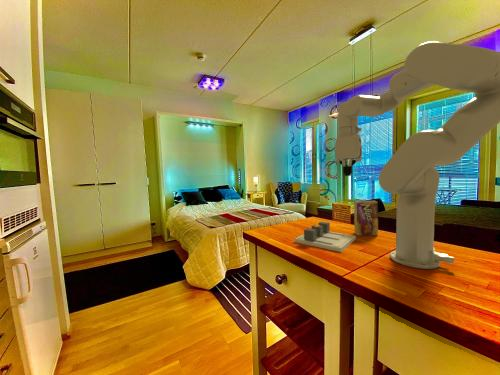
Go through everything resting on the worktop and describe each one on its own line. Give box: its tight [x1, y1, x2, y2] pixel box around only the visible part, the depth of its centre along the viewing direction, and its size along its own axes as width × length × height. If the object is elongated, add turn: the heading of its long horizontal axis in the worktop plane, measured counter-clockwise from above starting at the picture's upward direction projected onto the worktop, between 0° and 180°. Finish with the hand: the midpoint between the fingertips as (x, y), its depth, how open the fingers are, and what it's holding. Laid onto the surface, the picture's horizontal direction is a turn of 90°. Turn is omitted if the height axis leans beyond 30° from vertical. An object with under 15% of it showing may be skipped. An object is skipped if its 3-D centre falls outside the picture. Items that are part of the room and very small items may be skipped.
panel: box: [294, 231, 357, 253], centre depth 91 cm, size 19×18×2 cm
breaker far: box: [317, 221, 331, 233], centre depth 98 cm, size 4×3×4 cm
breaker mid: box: [310, 224, 323, 237], centre depth 93 cm, size 4×3×4 cm
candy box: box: [353, 200, 379, 236], centre depth 97 cm, size 9×4×15 cm, turn 79°
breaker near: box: [303, 227, 317, 241], centre depth 88 cm, size 4×3×4 cm
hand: (347, 175), depth 92 cm, fingers closed
